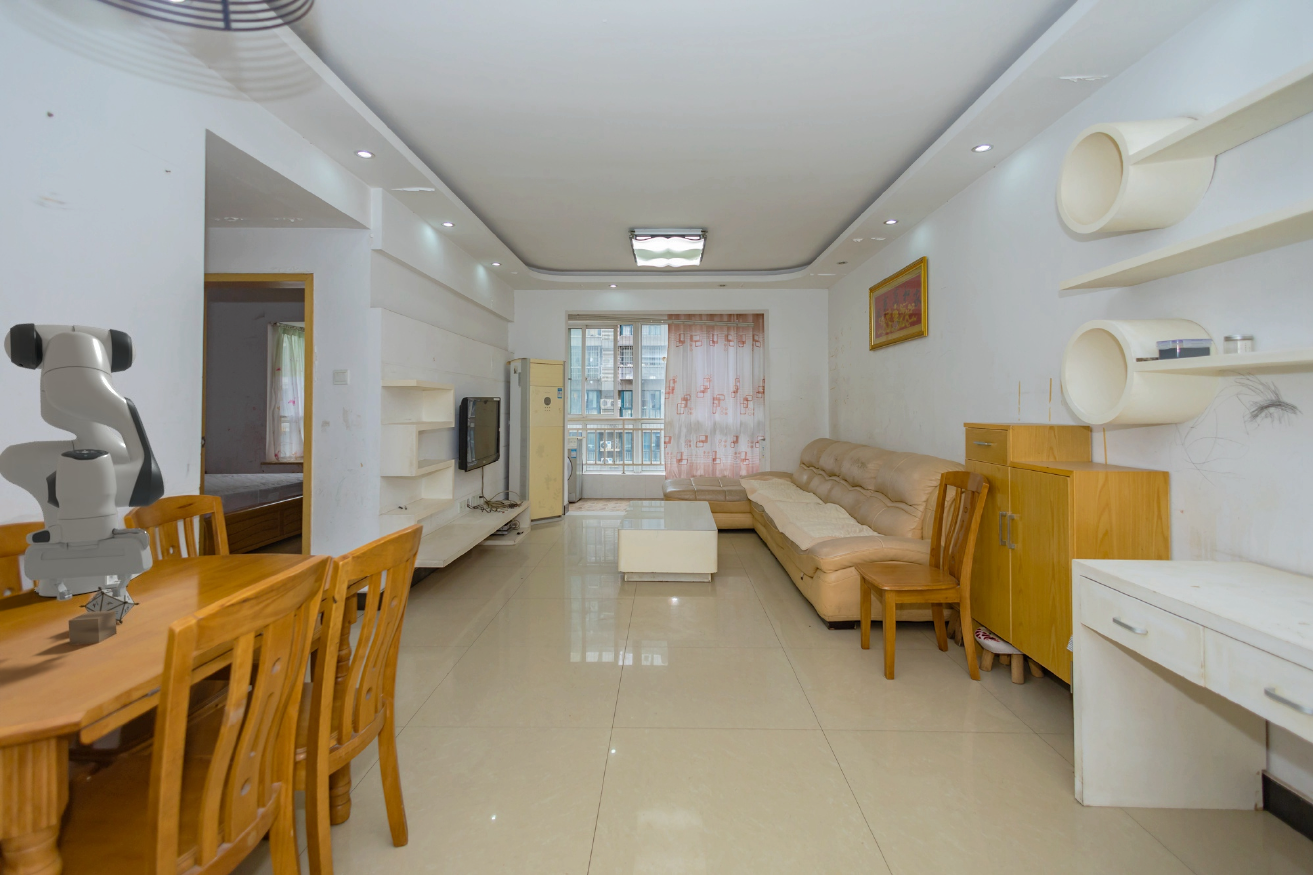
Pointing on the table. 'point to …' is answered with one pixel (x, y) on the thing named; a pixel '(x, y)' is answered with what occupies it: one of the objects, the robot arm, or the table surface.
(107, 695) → the table surface
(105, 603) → the game die
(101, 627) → the walnut cube
